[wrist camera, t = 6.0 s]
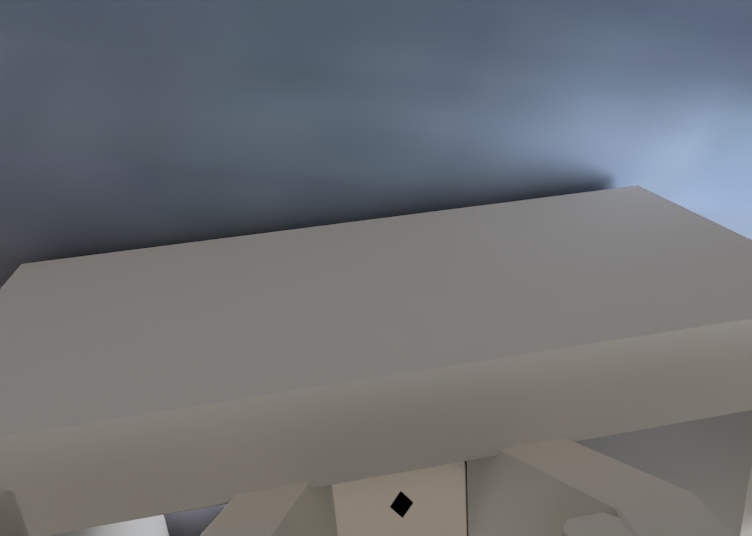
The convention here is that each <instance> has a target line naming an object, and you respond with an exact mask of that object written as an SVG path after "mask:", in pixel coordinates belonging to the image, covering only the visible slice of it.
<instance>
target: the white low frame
mask: <svg viewBox="0 0 752 536" xmlns="http://www.w3.org/2000/svg"><path fill="white" fill-rule="evenodd" d="M562 438H566V439H569V440H571V441H573V442H576V443H578V444H580V445H583V446H585V447H587V448H590V449H592V450H594V451H597V452H599V453H601V454H603V455H606V456H608V457H610V458H613V459H615V460H617V461H620V462H622V463H624V464H627V465H629V466H631V467H634V468H636V469H638V470H641V471H643V472H645V473H648V474H650V475H652V476H654V477H657V478H659V479H661V480H664V481H666V482H668V483H671V484H673V485H675V486H678V487H680V488H682V489H685V490H687V491H689V492H692V493H694V494H695V496H696V497H697V498H698V499H699V500H700V501H701V502H702V503H703V504H704V506H705V507H706V508H707V509H708V510H709V511H710V512H711V513H712V514H713V515H714V517H715V518H716V519H717V520H718V521H719V522H720V523H721V524H722V525H723V527H724V528H725V529H726V530H727V531H728V532H729V533H730V534H731V535H732V536H752V240H750V239H748V238H746V237H744V236H742V235H740V234H738V233H735V232H733V231H731V230H729V229H727V228H725V227H723V226H721V225H719V224H717V223H715V222H713V221H711V220H708V219H706V218H704V217H702V216H700V215H698V214H696V213H694V212H692V211H690V210H688V209H686V208H684V207H681V206H679V205H677V204H675V203H673V202H671V201H669V200H667V199H665V198H663V197H661V196H659V195H657V194H654V193H652V192H650V191H648V190H646V189H644V188H642V187H640V186H630V187H622V188H614V189H606V190H598V191H590V192H583V193H575V194H567V195H559V196H551V197H543V198H535V199H528V200H520V201H512V202H504V203H496V204H488V205H480V206H473V207H465V208H457V209H449V210H441V211H433V212H426V213H418V214H410V215H402V216H394V217H386V218H378V219H371V220H363V221H355V222H347V223H339V224H331V225H323V226H316V227H308V228H300V229H292V230H284V231H276V232H268V233H261V234H253V235H245V236H237V237H229V238H221V239H213V240H206V241H198V242H190V243H182V244H174V245H166V246H158V247H151V248H143V249H135V250H127V251H119V252H111V253H103V254H96V255H88V256H80V257H72V258H64V259H56V260H48V261H41V262H33V263H25V264H21V265H20V266H19V267H18V268H17V270H16V271H15V272H14V273H13V274H12V276H11V277H10V278H9V279H8V280H7V282H6V283H5V284H4V285H3V286H2V287H1V289H0V536H169V533H168V529H167V525H166V521H165V517H164V514H170V513H176V512H181V511H187V510H192V509H198V508H204V507H209V506H215V505H221V504H226V503H229V502H230V500H231V499H232V498H233V497H234V496H235V495H236V494H241V493H247V492H252V491H258V490H264V489H270V488H276V487H282V486H288V485H294V484H300V483H306V482H309V487H310V489H311V488H316V487H322V486H327V485H333V484H339V483H344V482H350V481H356V480H361V479H367V478H372V477H378V476H384V475H389V474H395V473H401V472H406V471H412V470H417V469H423V468H429V467H434V466H440V465H446V464H451V463H457V462H462V461H468V460H474V459H479V458H485V457H491V456H496V455H499V450H501V449H506V448H511V447H517V446H522V445H528V444H533V443H539V442H544V441H550V440H556V439H562Z"/></svg>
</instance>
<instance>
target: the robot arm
mask: <svg viewBox="0 0 752 536" xmlns="http://www.w3.org/2000/svg"><path fill="white" fill-rule="evenodd" d="M200 536H732V535H731V534H730V533H729V532H728V531H727V530H726V529H725V528H724V527H723V525H722V524H721V523H720V522H719V521H718V520H717V519H716V518H715V517H714V515H713V514H712V513H711V512H710V511H709V510H708V509H707V508H706V507H705V506H704V504H703V503H702V502H701V501H700V500H699V499H698V498H697V497H696V496H695V494H694V493H692V492H689V491H687V490H685V489H682V488H680V487H678V486H675V485H673V484H671V483H668V482H666V481H664V480H661V479H659V478H657V477H654V476H652V475H650V474H648V473H645V472H643V471H641V470H638V469H636V468H634V467H631V466H629V465H627V464H624V463H622V462H620V461H617V460H615V459H613V458H610V457H608V456H606V455H603V454H601V453H599V452H597V451H594V450H592V449H590V448H587V447H585V446H583V445H580V444H578V443H576V442H573V441H571V440H569V439H566V438H562V439H556V440H550V441H544V442H539V443H533V444H528V445H522V446H517V447H511V448H506V449H501V450H499V455H496V456H491V457H485V458H479V459H474V460H468V461H462V462H457V463H451V464H446V465H440V466H434V467H429V468H423V469H417V470H412V471H406V472H401V473H395V474H389V475H384V476H378V477H372V478H367V479H361V480H356V481H350V482H344V483H339V484H333V485H327V486H322V487H316V488H311V489H310V487H309V482H306V483H300V484H294V485H288V486H282V487H276V488H270V489H264V490H258V491H252V492H247V493H241V494H236V495H235V496H234V497H233V498H232V499H231V500H230V502H229V503H228V504H227V505H226V506H225V507H224V508H223V509H222V511H221V512H220V513H219V514H218V515H217V516H216V517H215V519H214V520H213V521H212V522H211V523H210V524H209V525H208V526H207V528H206V529H205V530H204V531H203V532H202V533H201V534H200Z"/></svg>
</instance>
